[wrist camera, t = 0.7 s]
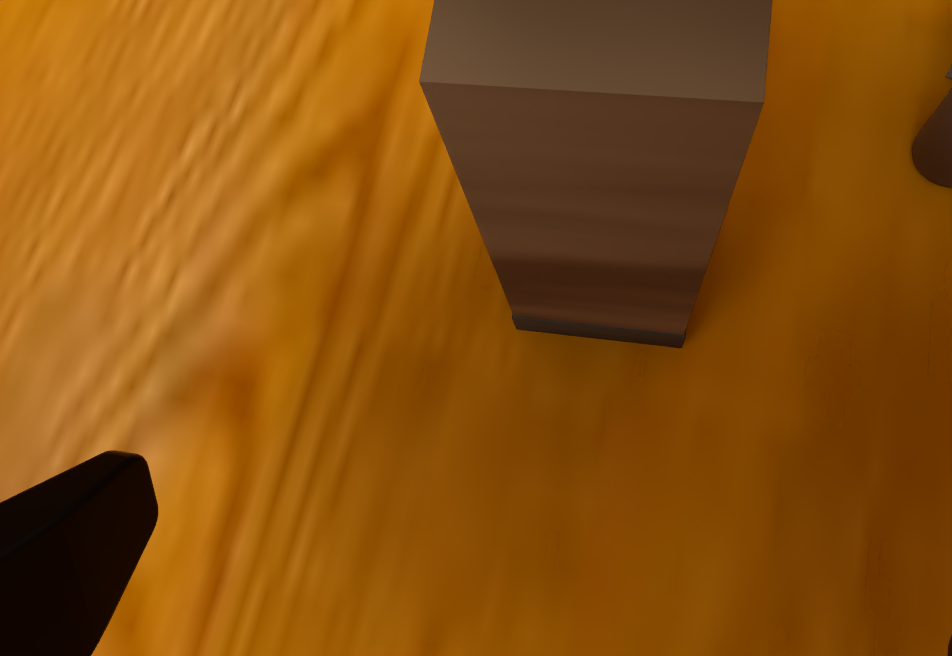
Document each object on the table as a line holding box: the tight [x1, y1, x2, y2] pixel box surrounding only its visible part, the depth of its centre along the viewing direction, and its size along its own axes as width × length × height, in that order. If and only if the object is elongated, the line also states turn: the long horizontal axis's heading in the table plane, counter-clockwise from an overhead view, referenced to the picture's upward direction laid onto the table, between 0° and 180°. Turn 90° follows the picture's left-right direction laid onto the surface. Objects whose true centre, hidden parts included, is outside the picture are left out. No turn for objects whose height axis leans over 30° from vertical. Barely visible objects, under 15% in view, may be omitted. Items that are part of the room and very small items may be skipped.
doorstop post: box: [419, 0, 772, 348], centre depth 18 cm, size 4×4×13 cm
